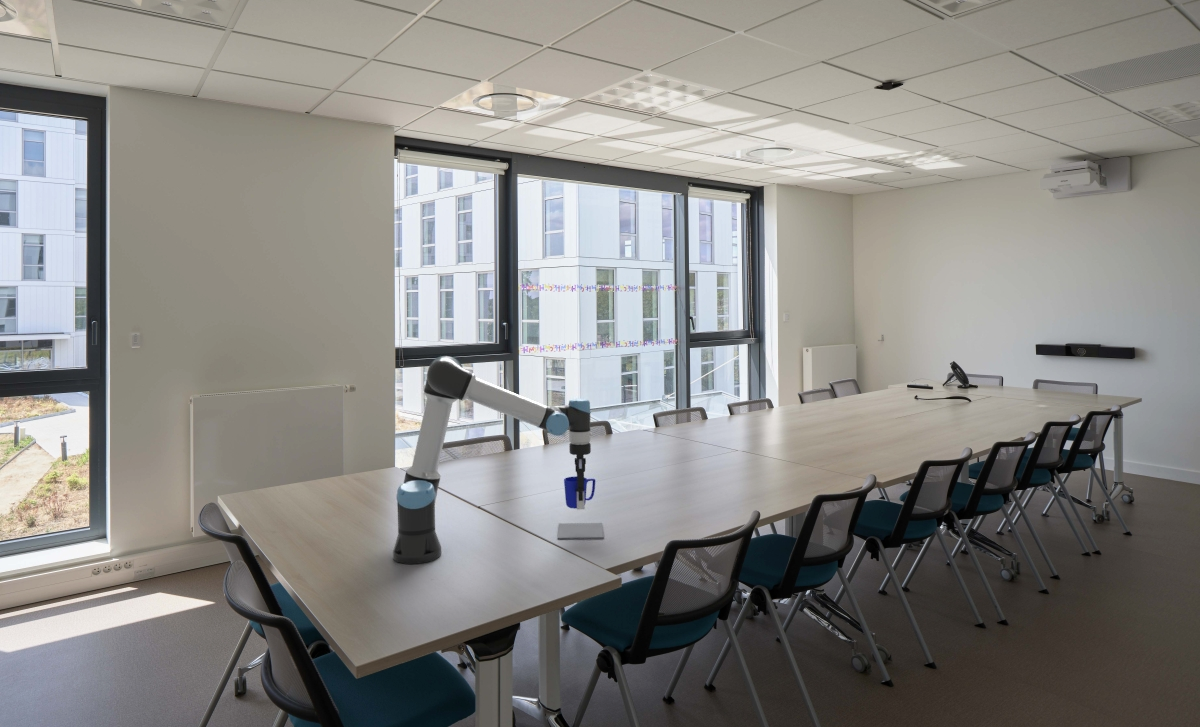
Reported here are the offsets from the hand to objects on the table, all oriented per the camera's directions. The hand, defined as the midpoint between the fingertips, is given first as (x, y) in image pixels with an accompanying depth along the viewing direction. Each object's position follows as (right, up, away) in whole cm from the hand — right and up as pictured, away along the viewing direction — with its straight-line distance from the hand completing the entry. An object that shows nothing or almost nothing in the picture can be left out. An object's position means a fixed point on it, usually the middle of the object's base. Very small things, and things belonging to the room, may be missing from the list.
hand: (580, 505), depth 250 cm
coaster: (0, -10, +1) cm, 9 cm away
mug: (0, 0, +1) cm, 1 cm away
